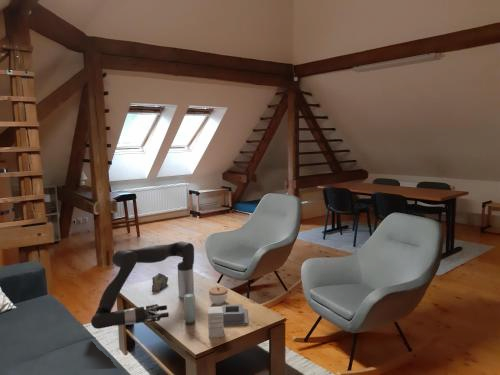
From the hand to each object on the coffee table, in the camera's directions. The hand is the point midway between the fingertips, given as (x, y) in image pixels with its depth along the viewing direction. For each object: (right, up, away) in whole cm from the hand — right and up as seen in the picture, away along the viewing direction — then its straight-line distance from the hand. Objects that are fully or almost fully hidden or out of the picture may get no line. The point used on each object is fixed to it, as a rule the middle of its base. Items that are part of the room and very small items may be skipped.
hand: (167, 310), depth 202 cm
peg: (+11, -8, +5) cm, 14 cm away
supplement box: (+25, -9, -7) cm, 28 cm away
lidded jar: (+24, -4, +29) cm, 38 cm away
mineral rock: (-15, -2, +53) cm, 55 cm away
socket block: (+32, -7, +9) cm, 35 cm away
